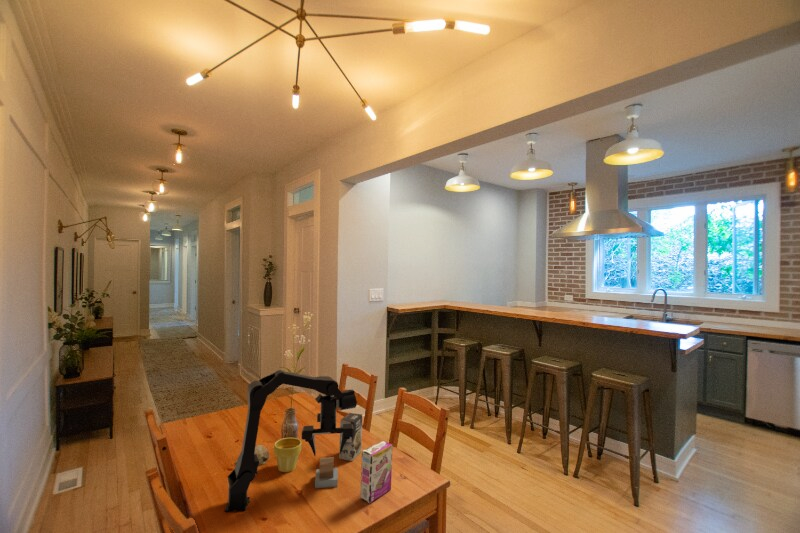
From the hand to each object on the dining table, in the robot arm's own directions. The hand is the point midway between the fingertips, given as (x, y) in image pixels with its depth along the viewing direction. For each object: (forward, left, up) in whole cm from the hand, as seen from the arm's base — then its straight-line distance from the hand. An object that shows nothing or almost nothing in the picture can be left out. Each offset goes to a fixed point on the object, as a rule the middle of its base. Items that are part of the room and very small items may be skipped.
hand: (327, 454), depth 137 cm
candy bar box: (-11, -17, -10) cm, 23 cm away
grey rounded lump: (+18, +30, -10) cm, 36 cm away
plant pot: (+11, +16, -10) cm, 22 cm away
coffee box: (+18, -9, -10) cm, 23 cm away
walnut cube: (0, 0, -7) cm, 7 cm away
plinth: (0, 0, -10) cm, 10 cm away
